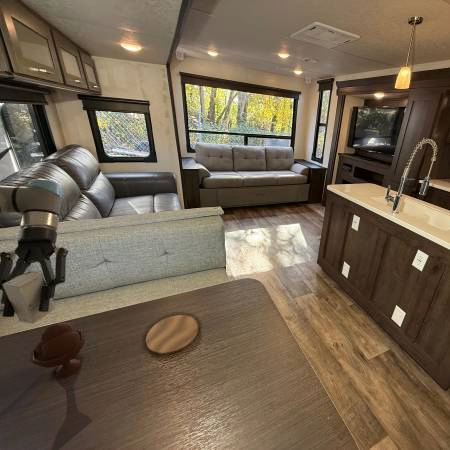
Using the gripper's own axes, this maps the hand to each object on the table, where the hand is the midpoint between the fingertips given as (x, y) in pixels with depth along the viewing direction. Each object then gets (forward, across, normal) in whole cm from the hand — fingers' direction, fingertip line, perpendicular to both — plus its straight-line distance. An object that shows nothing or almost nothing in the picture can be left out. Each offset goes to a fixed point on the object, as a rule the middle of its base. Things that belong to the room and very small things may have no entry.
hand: (26, 313), depth 64 cm
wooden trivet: (+12, -32, -15) cm, 37 cm away
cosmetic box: (0, 0, -5) cm, 5 cm away
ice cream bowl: (+16, -5, -12) cm, 20 cm away
